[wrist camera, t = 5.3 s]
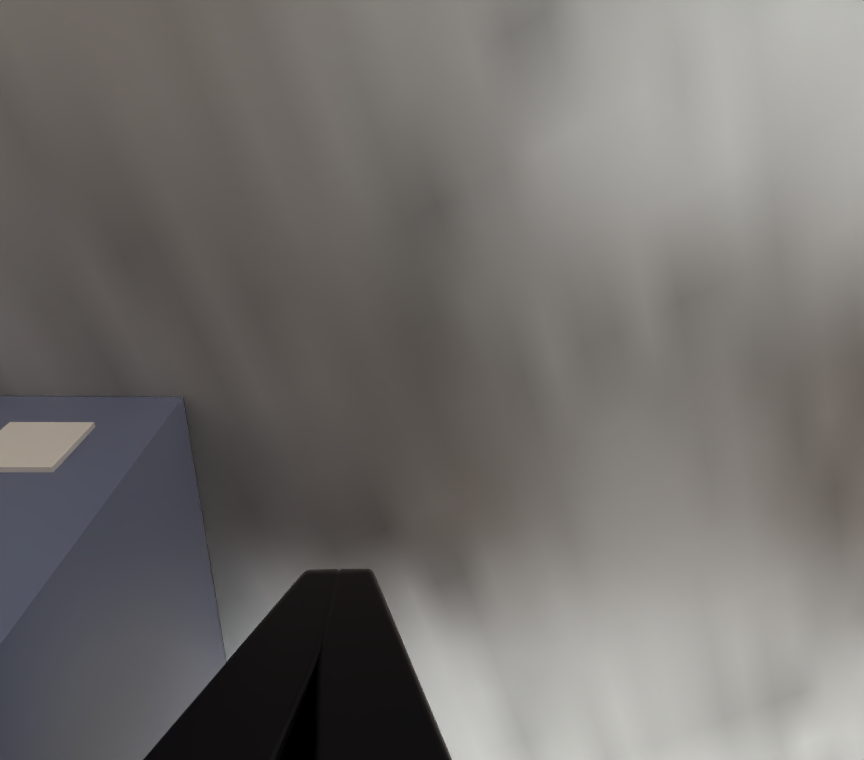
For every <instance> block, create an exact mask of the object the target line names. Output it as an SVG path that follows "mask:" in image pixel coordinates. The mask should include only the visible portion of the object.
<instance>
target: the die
mask: <svg viewBox="0 0 864 760" xmlns="http://www.w3.org/2000/svg"><path fill="white" fill-rule="evenodd" d="M225 663H226V659H225V653H224V646H223V640H222V634H221V628H220V622H219V616H218V609H217V603H216V597H215V591H214V585H213V579H212V573H211V566H210V560H209V554H208V548H207V542H206V536H205V529H204V523H203V517H202V511H201V505H200V499H199V493H198V486H197V480H196V474H195V468H194V462H193V456H192V449H191V443H190V437H189V431H188V425H187V419H186V413H185V406H184V400H183V397H109V396H0V760H143V759H144V758H145V757H146V756H147V754H148V753H149V752H150V751H151V750H152V749H153V747H154V746H155V745H156V744H157V743H158V742H159V740H160V739H161V738H162V737H163V736H164V735H165V733H166V732H167V731H168V730H169V729H170V728H171V726H172V725H173V724H174V723H175V722H176V721H177V719H178V718H179V717H180V716H181V715H182V714H183V712H184V711H185V710H186V709H187V708H188V707H189V705H190V704H191V703H192V702H193V701H194V700H195V698H196V697H197V696H198V695H199V694H200V693H201V691H202V690H203V689H204V688H205V687H206V686H207V684H208V683H209V682H210V681H211V680H212V679H213V677H214V676H215V675H216V674H217V673H218V672H219V670H220V669H221V668H222V667H223V666H224V665H225Z"/></svg>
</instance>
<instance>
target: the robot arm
mask: <svg viewBox="0 0 864 760" xmlns="http://www.w3.org/2000/svg"><path fill="white" fill-rule="evenodd" d="M143 760H452V759H451V756H450V754H449V752H448V749H447V747H446V744H445V742H444V740H443V737H442V735H441V732H440V730H439V728H438V725H437V723H436V720H435V718H434V716H433V713H432V711H431V708H430V706H429V704H428V701H427V699H426V697H425V694H424V692H423V689H422V687H421V685H420V682H419V680H418V677H417V675H416V673H415V670H414V668H413V665H412V663H411V661H410V658H409V656H408V653H407V651H406V649H405V646H404V644H403V642H402V639H401V637H400V634H399V632H398V630H397V627H396V625H395V622H394V620H393V618H392V615H391V613H390V610H389V608H388V606H387V603H386V601H385V598H384V596H383V594H382V591H381V589H380V587H379V584H378V582H377V579H376V577H375V575H374V573H373V572H372V570H370V569H341V570H337V569H319V570H307V571H306V572H304V573H303V574H302V575H301V576H300V577H299V578H298V579H297V581H296V582H295V583H294V584H293V585H292V586H291V588H290V589H289V590H288V591H287V592H286V593H285V595H284V596H283V597H282V598H281V599H280V600H279V602H278V603H277V604H276V605H275V606H274V607H273V609H272V610H271V611H270V612H269V613H268V614H267V616H266V617H265V618H264V619H263V620H262V621H261V623H260V624H259V625H258V626H257V627H256V628H255V630H254V631H253V632H252V633H251V634H250V635H249V637H248V638H247V639H246V640H245V641H244V642H243V644H242V645H241V646H240V647H239V648H238V649H237V651H236V652H235V653H234V654H233V655H232V656H231V658H230V659H229V660H228V661H227V662H226V663H225V665H224V666H223V667H222V668H221V669H220V670H219V672H218V673H217V674H216V675H215V676H214V677H213V679H212V680H211V681H210V682H209V683H208V684H207V686H206V687H205V688H204V689H203V690H202V691H201V693H200V694H199V695H198V696H197V697H196V698H195V700H194V701H193V702H192V703H191V704H190V705H189V707H188V708H187V709H186V710H185V711H184V712H183V714H182V715H181V716H180V717H179V718H178V719H177V721H176V722H175V723H174V724H173V725H172V726H171V728H170V729H169V730H168V731H167V732H166V733H165V735H164V736H163V737H162V738H161V739H160V740H159V742H158V743H157V744H156V745H155V746H154V747H153V749H152V750H151V751H150V752H149V753H148V754H147V756H146V757H145V758H144V759H143Z"/></svg>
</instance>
